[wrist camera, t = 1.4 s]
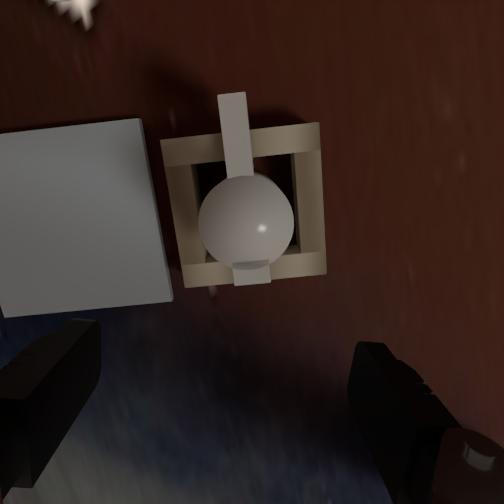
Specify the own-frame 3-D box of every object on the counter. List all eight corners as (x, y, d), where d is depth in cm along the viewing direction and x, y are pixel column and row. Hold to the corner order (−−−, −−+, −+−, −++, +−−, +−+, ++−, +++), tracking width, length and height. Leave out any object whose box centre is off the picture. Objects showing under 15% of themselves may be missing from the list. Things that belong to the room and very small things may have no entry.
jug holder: (312, 125, 28) (319, 122, 25) (320, 263, 31) (326, 273, 28) (169, 141, 29) (159, 139, 26) (191, 276, 32) (185, 287, 29)
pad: (141, 119, 28) (138, 118, 27) (173, 297, 32) (171, 301, 32) (-46, 140, 29) (-54, 140, 28) (10, 313, 33) (4, 317, 32)
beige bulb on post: (285, 245, 31) (298, 279, 22) (220, 252, 31) (207, 288, 22) (274, 109, 28) (283, 86, 19) (202, 117, 28) (179, 99, 19)
